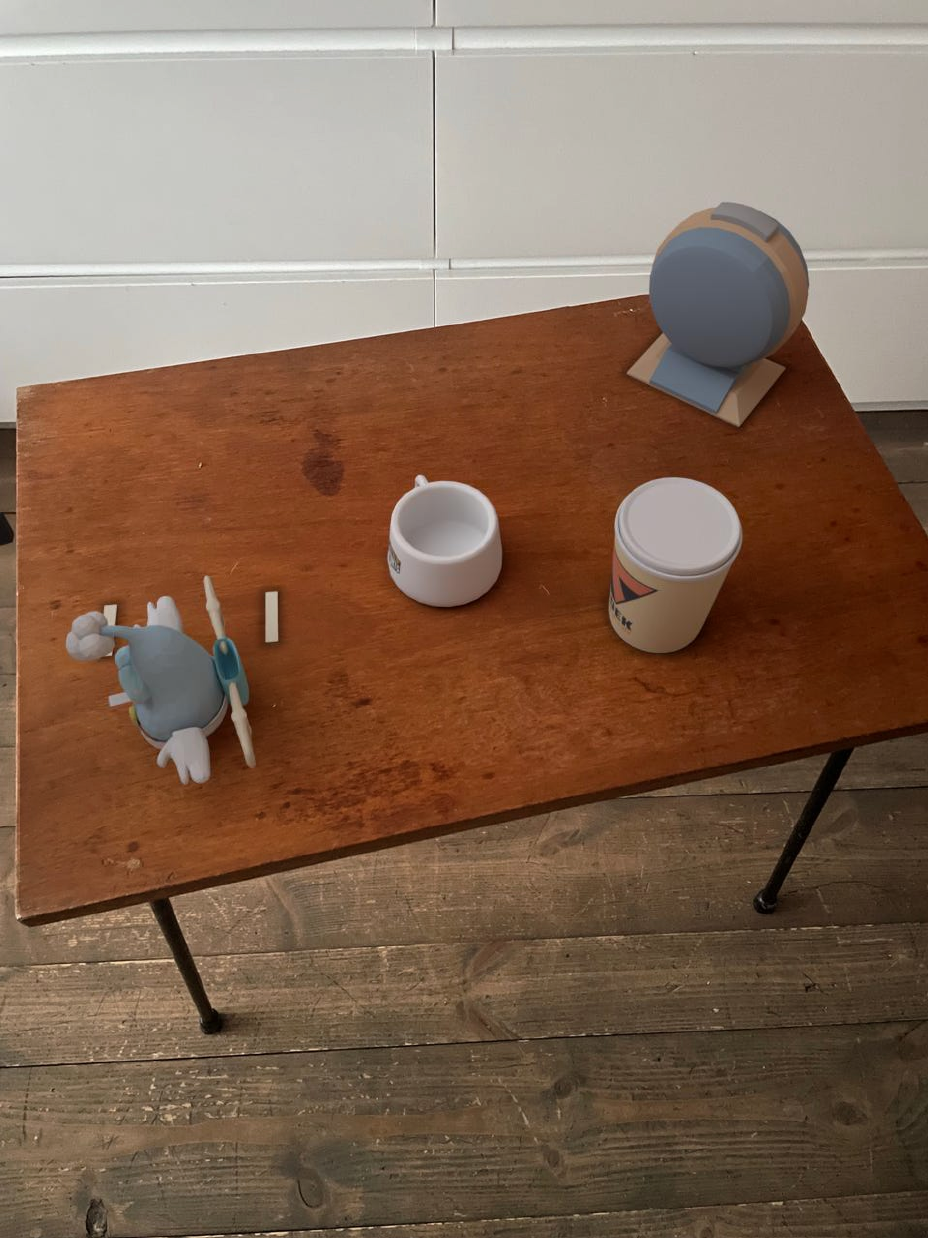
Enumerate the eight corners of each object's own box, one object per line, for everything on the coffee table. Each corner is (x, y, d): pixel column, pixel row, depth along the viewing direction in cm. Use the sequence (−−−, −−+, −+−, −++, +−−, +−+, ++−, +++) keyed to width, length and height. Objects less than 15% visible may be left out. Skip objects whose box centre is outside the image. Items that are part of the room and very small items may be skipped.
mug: (518, 593, 88) (522, 548, 84) (408, 625, 87) (405, 581, 82) (470, 490, 95) (471, 443, 90) (366, 518, 93) (361, 471, 88)
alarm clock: (794, 373, 104) (849, 214, 89) (748, 431, 99) (798, 274, 85) (666, 316, 108) (699, 156, 94) (617, 369, 104) (643, 210, 89)
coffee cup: (588, 575, 90) (604, 479, 80) (696, 564, 90) (726, 468, 80) (610, 668, 84) (631, 578, 74) (725, 656, 85) (760, 565, 75)
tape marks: (99, 657, 85) (99, 656, 85) (104, 606, 88) (104, 605, 87) (278, 641, 86) (278, 641, 86) (277, 592, 88) (277, 591, 88)
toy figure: (103, 650, 85) (43, 532, 73) (232, 617, 87) (195, 496, 75) (132, 837, 76) (70, 737, 64) (276, 795, 78) (242, 691, 66)
